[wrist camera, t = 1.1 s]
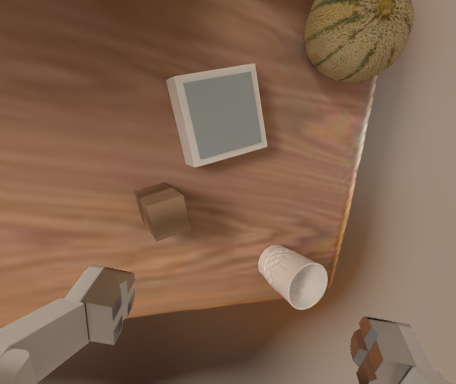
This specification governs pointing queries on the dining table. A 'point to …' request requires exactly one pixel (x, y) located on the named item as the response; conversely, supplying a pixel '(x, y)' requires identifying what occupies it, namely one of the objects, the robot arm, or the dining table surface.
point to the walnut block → (163, 210)
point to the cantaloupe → (356, 36)
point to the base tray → (217, 113)
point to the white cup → (293, 276)
